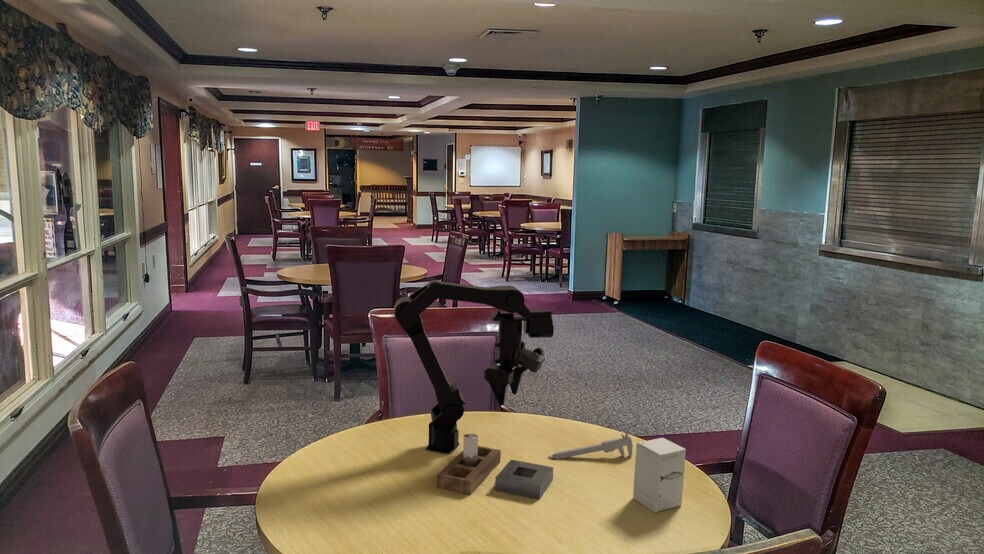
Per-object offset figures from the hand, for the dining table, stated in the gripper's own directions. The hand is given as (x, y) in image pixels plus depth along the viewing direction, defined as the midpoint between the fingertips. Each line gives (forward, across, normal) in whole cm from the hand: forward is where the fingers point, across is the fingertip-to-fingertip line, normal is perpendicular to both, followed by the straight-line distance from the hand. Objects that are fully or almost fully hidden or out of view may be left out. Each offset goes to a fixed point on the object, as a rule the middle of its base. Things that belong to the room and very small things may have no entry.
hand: (508, 399), depth 169 cm
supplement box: (+12, -14, -39) cm, 43 cm away
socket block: (+12, -19, -11) cm, 25 cm away
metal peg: (+12, -19, +2) cm, 22 cm away
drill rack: (+12, -19, +2) cm, 22 cm away
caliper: (+13, +2, -21) cm, 24 cm away
